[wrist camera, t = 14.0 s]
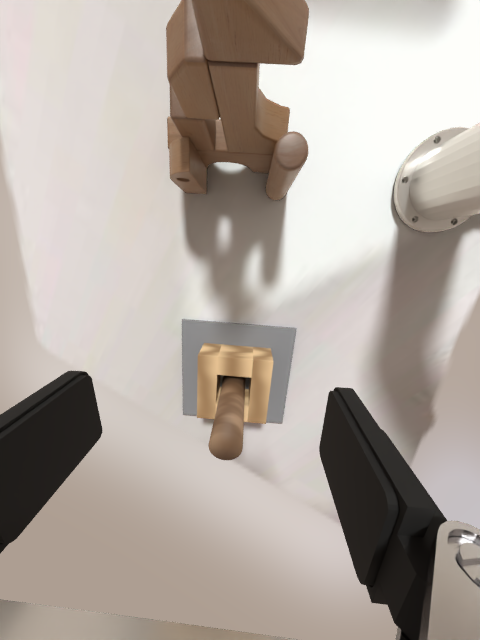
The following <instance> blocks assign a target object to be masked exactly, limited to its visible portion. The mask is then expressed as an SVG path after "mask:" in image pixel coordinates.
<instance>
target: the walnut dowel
mask: <svg viewBox="0 0 480 640" xmlns="http://www.w3.org/2000/svg"><path fill="white" fill-rule="evenodd" d="M245 379H246V377H237V376H225V375H224V378H223V382H222V387H221V391H220V396H219V400H218V405H217V409H216V414H215V418H214V423H213V428H212V432H211V437H210V441H209V450H210V452H211V453H212V454H213V455H214V456H215V457H217V458H219V459H222V460H232V459H235V458H237V457H238V456H239V455H240V454H241V452H242V447H243V424H244V402H245Z"/></svg>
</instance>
